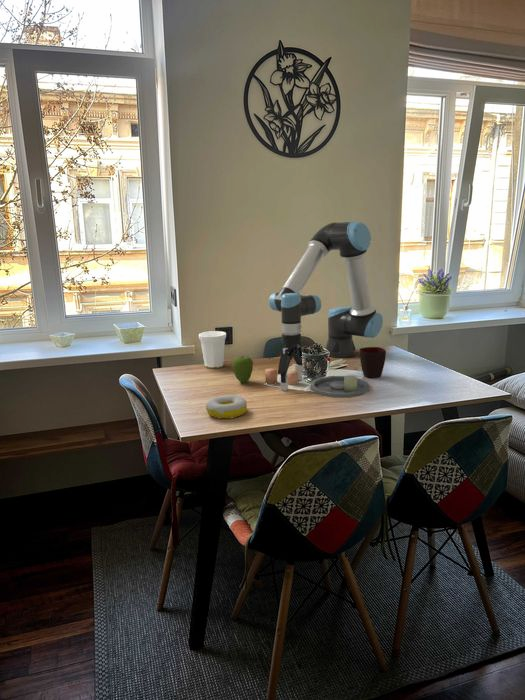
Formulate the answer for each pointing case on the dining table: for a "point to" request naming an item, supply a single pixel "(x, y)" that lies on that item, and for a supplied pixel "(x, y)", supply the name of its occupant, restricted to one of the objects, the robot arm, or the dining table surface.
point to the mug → (372, 361)
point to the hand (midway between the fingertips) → (291, 385)
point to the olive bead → (350, 384)
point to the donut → (226, 406)
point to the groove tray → (336, 386)
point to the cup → (213, 347)
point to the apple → (243, 368)
